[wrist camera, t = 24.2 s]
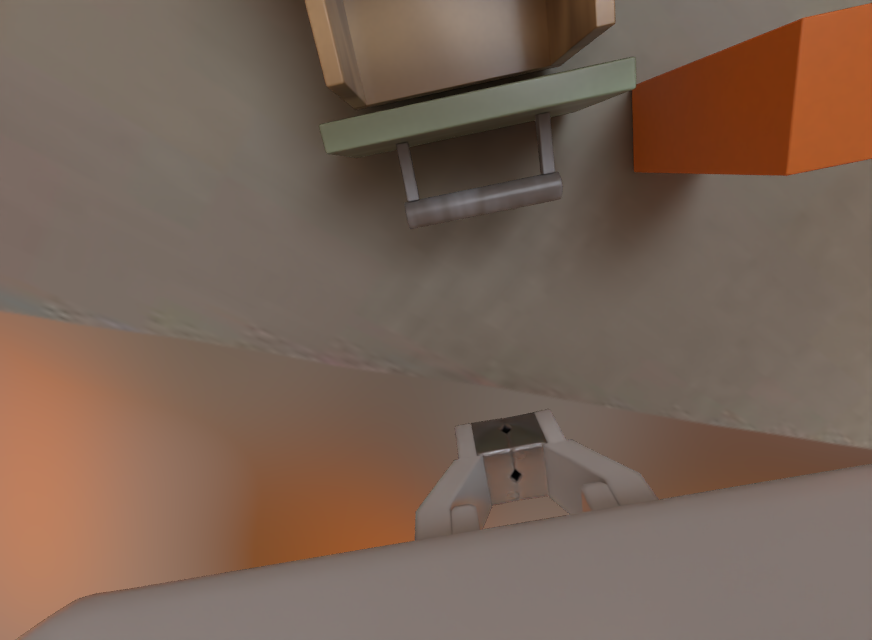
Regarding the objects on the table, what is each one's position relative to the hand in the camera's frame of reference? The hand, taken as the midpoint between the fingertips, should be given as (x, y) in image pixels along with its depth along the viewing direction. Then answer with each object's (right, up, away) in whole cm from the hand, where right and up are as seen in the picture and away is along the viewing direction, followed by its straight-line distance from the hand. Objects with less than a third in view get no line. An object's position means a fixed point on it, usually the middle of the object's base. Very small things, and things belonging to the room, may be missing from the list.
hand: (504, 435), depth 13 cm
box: (+13, +16, +13) cm, 24 cm away
